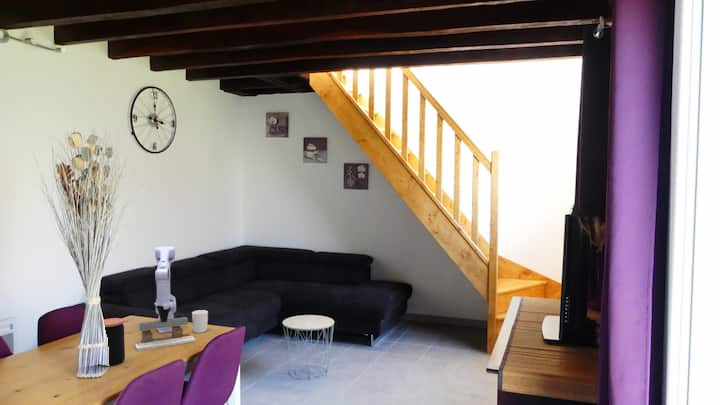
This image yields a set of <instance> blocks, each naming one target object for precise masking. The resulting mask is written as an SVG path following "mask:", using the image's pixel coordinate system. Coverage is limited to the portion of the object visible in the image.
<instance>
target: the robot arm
mask: <svg viewBox="0 0 720 405" xmlns="http://www.w3.org/2000/svg"><path fill="white" fill-rule="evenodd" d="M154 257H155V261H156V263H157V267H156V270H155V284H156V299H155V302H154V305H155V313H156V314H158V320H162V322H167V319H174V318H175V316H174V313H176V312H177V300H176V297H175V296H174V295H173V294H171V266H172V263H174V262H175V260H176V247H175V245H173V246H172V245H169V246H168V245H167V246H155V247H154ZM158 320H157V321H158ZM156 330H157V331H158V333H160V334H164V333H170V332H171V333H172V327H165V328H157V329H156Z"/></svg>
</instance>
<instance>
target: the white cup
mask: <svg viewBox="0 0 720 405" xmlns="http://www.w3.org/2000/svg"><path fill="white" fill-rule="evenodd" d="M191 314H192V317H191V318H192V327H193V328H192V329H193V332H194V333H197V334H198V333H199V334H200V333H205V332H207V331H208V320H209V317H208V316H209V311H208V310H206V309H202V310H201V309H199V310H193V311H192V312H191Z"/></svg>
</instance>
